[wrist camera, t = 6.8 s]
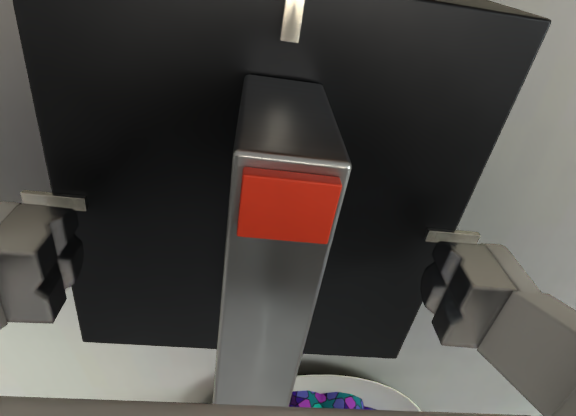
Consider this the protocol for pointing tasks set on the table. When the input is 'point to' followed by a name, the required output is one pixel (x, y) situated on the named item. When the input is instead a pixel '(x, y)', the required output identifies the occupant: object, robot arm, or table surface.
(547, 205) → the table surface
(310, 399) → the pudding
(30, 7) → the black block
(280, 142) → the silver bar
